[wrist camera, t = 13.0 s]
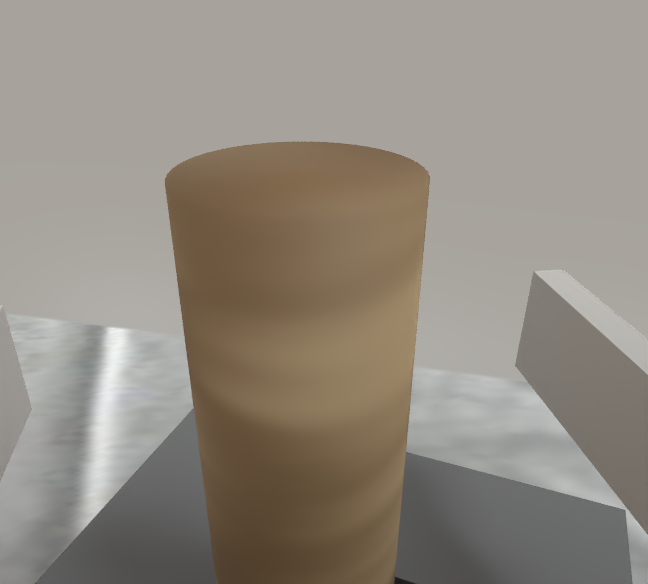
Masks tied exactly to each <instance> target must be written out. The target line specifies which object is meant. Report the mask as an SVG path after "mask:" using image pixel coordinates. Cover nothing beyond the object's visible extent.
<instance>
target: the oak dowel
mask: <svg viewBox="0 0 648 584" xmlns="http://www.w3.org/2000/svg"><path fill="white" fill-rule="evenodd" d="M429 184H430V176H429V174H428V172H427V171H426V170H425V168H424V167H423V166H421V165H420V164H418V163H417V162H415V161H413V160H411V159H409V158H406V157H404V156H402V155H399V154H395V153H392V152H389V151H385V150H380V149H376V148H371V147H365V146H358V145H350V144H341V143H327V142H276V143H262V144H253V145H244V146H238V147H232V148H227V149H221V150H217V151H213V152H209V153H205V154H202V155H199V156H196V157H194V158H191V159H188V160H186V161H184V162H182V163H180V164H178V165H177V166H176V167H174V168H173V169H172V170H171V171H170V172H169V173H168V174H167V177H166V178H165V187H166V194H167V202H168V210H169V218H170V225H171V233H172V241H173V249H174V257H175V264H176V273H177V281H178V288H179V296H180V304H181V311H182V320H183V327H184V335H185V343H186V351H187V359H188V367H189V374H190V382H191V390H192V398H193V406H194V413H195V421H196V429H197V437H198V445H199V452H200V460H201V468H202V476H203V484H204V491H205V499H206V507H207V515H208V523H209V530H210V538H211V546H212V554H213V562H214V569H215V577H216V584H394V580H395V569H396V558H397V546H398V535H399V524H400V512H401V501H402V490H403V478H404V467H405V456H406V444H407V433H408V422H409V410H410V399H411V388H412V376H413V365H414V354H415V342H416V331H417V319H418V308H419V297H420V285H421V275H422V263H423V262H422V261H423V252H424V241H425V240H424V239H425V229H426V218H427V207H428V195H429Z"/></svg>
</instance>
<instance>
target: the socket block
mask: <svg viewBox="0 0 648 584" xmlns="http://www.w3.org/2000/svg"><path fill="white" fill-rule="evenodd" d="M35 584H216V577H215V569H214V562H213V554H212V546H211V538H210V530H209V523H208V515H207V507H206V499H205V491H204V484H203V476H202V468H201V460H200V452H199V445H198V437H197V429H196V421H195V413H194V408H193V409H192V411H191V412H190V413H189V414H188V415H187V416H186V417H185V418H184V419H183V421H182V422H181V423H180V424H179V425H178V426H177V427H176V428H175V429H174V430H173V432H172V433H171V434H170V435H169V436H168V437H167V438H166V439H165V440H164V442H163V443H162V444H161V445H160V446H159V447H158V448H157V449H156V450H155V451H154V453H153V454H152V455H151V456H150V457H149V458H148V459H147V460H146V461H145V463H144V464H143V465H142V466H141V467H140V468H139V469H138V470H137V471H136V472H135V474H134V475H133V476H132V477H131V478H130V479H129V480H128V481H127V482H126V483H125V485H124V486H123V487H122V488H121V489H120V490H119V491H118V492H117V493H116V495H115V496H114V497H113V498H112V499H111V500H110V501H109V502H108V503H107V504H106V506H105V507H104V508H103V509H102V510H101V511H100V512H99V513H98V514H97V516H96V517H95V518H94V519H93V520H92V521H91V522H90V523H89V524H88V525H87V527H86V528H85V529H84V530H83V531H82V532H81V533H80V534H79V535H78V537H77V538H76V539H75V540H74V541H73V542H72V543H71V544H70V545H69V546H68V548H67V549H66V550H65V551H64V552H63V553H62V554H61V555H60V556H59V557H58V559H57V560H56V561H55V562H54V563H53V564H52V565H51V566H50V567H49V569H48V570H47V571H46V572H45V573H44V574H43V575H42V576H41V577H40V578H39V580H38V581H37V582H36V583H35ZM394 584H632V575H631V565H630V555H629V544H628V534H627V524H626V514H625V510H623V509H619V508H616V507H612V506H608V505H604V504H601V503H597V502H593V501H589V500H585V499H582V498H578V497H574V496H570V495H566V494H563V493H559V492H555V491H551V490H548V489H544V488H540V487H536V486H532V485H529V484H525V483H521V482H517V481H513V480H510V479H506V478H502V477H498V476H494V475H491V474H487V473H483V472H479V471H476V470H472V469H468V468H464V467H460V466H457V465H453V464H449V463H445V462H441V461H438V460H434V459H430V458H426V457H422V456H419V455H415V454H411V453H407V452H406V456H405V467H404V478H403V490H402V501H401V512H400V524H399V535H398V546H397V558H396V569H395V580H394Z"/></svg>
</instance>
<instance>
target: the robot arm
mask: <svg viewBox="0 0 648 584" xmlns="http://www.w3.org/2000/svg"><path fill="white" fill-rule="evenodd" d="M515 366H516V367H517V368H518V369H519V371H520V372H521V373H522V375H523V376H524V377H525V379H526V380H527V381H528V382H529V384H530V385H531V386H532V388H533V389H534V390H535V391H536V393H537V394H538V395H539V396H540V398H541V399H542V400H543V402H544V403H545V404H546V405H547V407H548V408H549V409H550V410H551V412H552V413H553V414H554V416H555V417H556V418H557V419H558V421H559V422H560V423H561V425H562V426H563V427H564V428H565V430H566V431H567V432H568V433H569V435H570V436H571V437H572V439H573V440H574V441H575V442H576V444H577V445H578V446H579V447H580V449H581V450H582V451H583V453H584V454H585V455H586V456H587V458H588V459H589V460H590V461H591V463H592V464H593V465H594V467H595V468H596V469H597V470H598V472H599V473H600V474H601V476H602V477H603V478H604V479H605V481H606V482H607V483H608V484H609V486H610V487H611V488H612V490H613V491H614V492H615V493H616V495H617V496H618V497H619V498H620V500H621V501H622V502H623V504H624V505H625V506H626V507H627V509H628V510H629V511H630V513H631V514H632V515H633V516H634V518H635V519H636V520H637V521H638V523H639V524H640V525H641V527H642V528H643V529H644V530H645V532H646V533H647V534H648V339H647V338H645V337H644V336H643V335H642V334H641V333H639V332H638V331H637V330H636V329H634V328H633V327H632V326H631V325H630V324H628V323H627V322H626V321H625V320H624V319H622V318H621V317H620V316H619V315H617V314H616V313H615V312H614V311H613V310H611V309H610V308H609V307H608V306H607V305H605V304H604V303H603V302H602V301H600V300H599V299H598V298H597V297H596V296H594V295H593V294H592V293H591V292H590V291H588V290H587V289H586V288H585V287H583V286H582V285H581V284H580V283H578V282H577V281H576V280H575V279H574V278H572V277H571V276H570V275H569V274H568V273H566V272H565V271H564V270H548V271H534V272H533V277H532V282H531V287H530V293H529V298H528V303H527V308H526V313H525V318H524V324H523V329H522V333H521V339H520V344H519V349H518V354H517V359H516V364H515ZM31 409H32V408H31V404H30V400H29V397H28V393H27V390H26V386H25V382H24V379H23V375H22V372H21V368H20V364H19V361H18V357H17V354H16V350H15V346H14V343H13V339H12V336H11V332H10V328H9V325H8V321H7V318H6V314H5V311H4V307H3V305H0V480H1V478H2V476H3V473H4V471H5V469H6V466H7V464H8V462H9V460H10V457H11V455H12V453H13V450H14V448H15V446H16V443H17V441H18V439H19V436H20V434H21V432H22V430H23V427H24V425H25V423H26V420H27V418H28V416H29V413H30V411H31Z"/></svg>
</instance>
